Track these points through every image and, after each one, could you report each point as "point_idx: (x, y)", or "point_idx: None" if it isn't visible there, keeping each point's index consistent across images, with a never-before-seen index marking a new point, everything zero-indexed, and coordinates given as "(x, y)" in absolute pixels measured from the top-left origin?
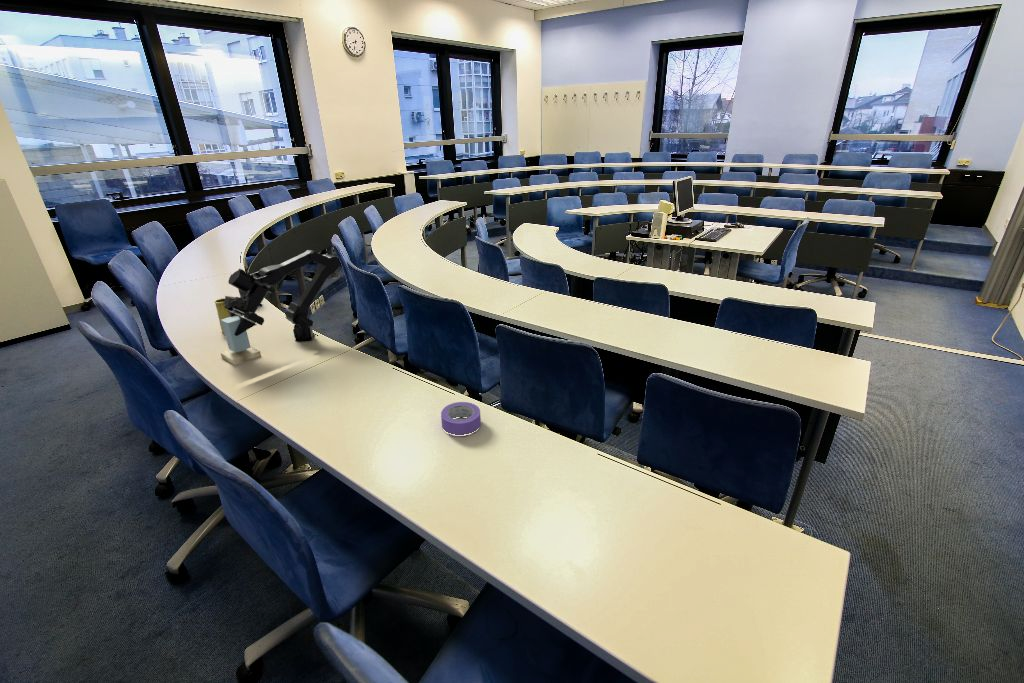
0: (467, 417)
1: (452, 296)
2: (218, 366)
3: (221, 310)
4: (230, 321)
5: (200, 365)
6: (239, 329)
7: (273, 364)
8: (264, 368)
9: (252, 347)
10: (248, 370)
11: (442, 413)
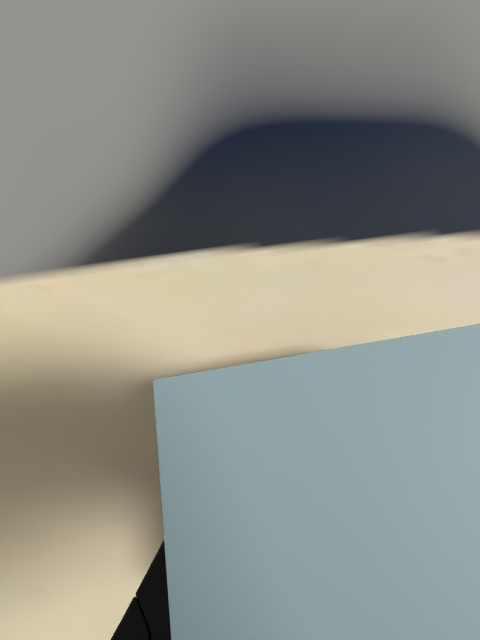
0: None
1: None
2: (292, 321)
3: None
4: (245, 486)
5: (374, 252)
6: (158, 569)
7: (62, 613)
8: (55, 533)
9: None
10: (108, 440)
11: None
